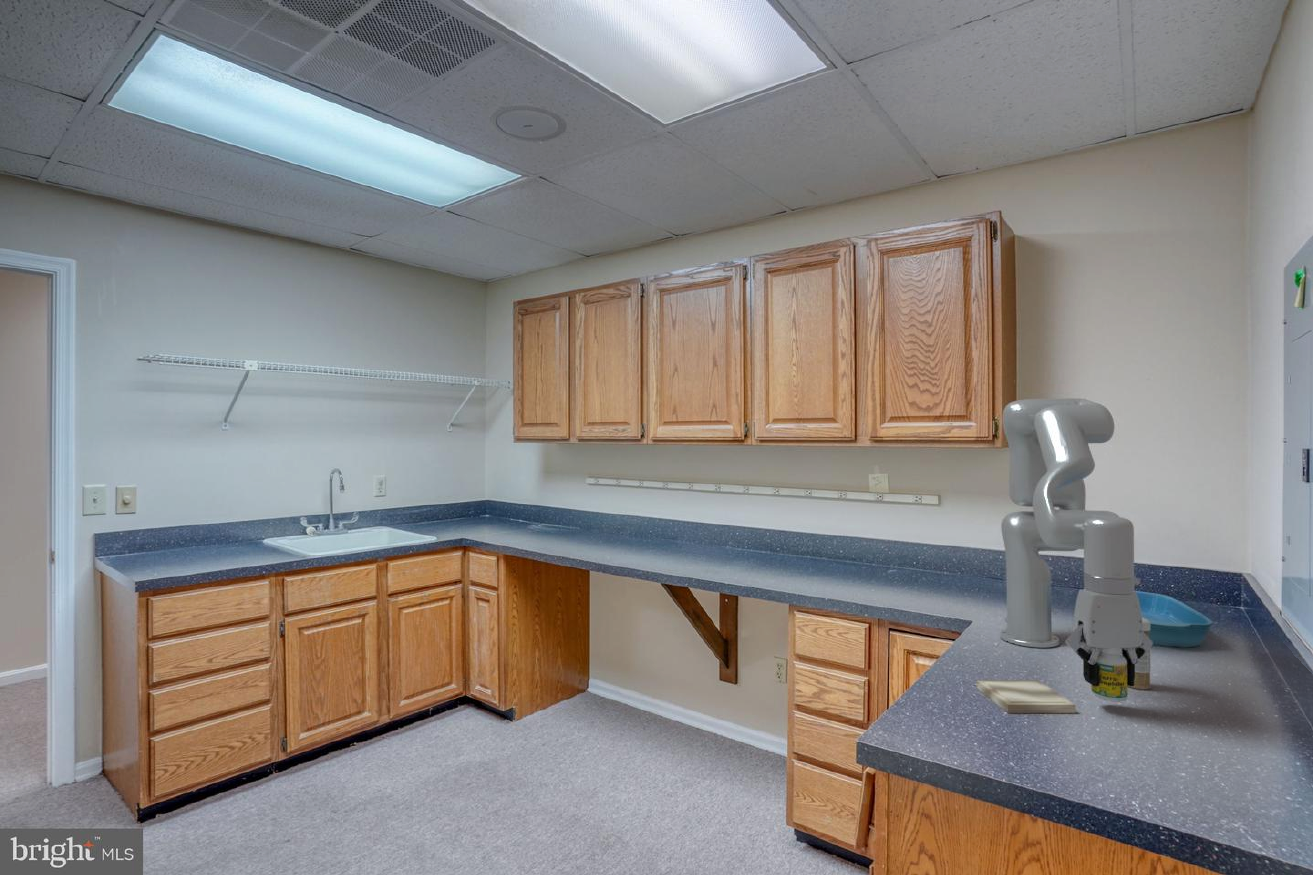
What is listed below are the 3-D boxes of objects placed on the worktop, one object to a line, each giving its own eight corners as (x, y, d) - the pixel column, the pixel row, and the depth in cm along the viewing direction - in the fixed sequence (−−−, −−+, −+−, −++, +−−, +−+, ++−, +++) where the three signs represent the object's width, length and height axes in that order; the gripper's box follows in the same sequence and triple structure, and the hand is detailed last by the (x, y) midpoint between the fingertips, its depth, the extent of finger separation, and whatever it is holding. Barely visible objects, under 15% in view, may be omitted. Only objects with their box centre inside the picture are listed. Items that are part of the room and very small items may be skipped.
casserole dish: (1229, 657, 147) (1229, 626, 147) (1113, 648, 154) (1112, 617, 154) (1164, 616, 181) (1163, 590, 181) (1071, 610, 189) (1071, 585, 189)
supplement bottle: (1122, 692, 120) (1122, 640, 120) (1131, 704, 115) (1131, 649, 115) (1087, 688, 122) (1087, 637, 122) (1095, 700, 117) (1095, 646, 117)
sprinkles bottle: (1124, 680, 133) (1123, 614, 133) (1152, 685, 130) (1151, 618, 130) (1121, 686, 129) (1120, 618, 130) (1149, 692, 126) (1148, 623, 126)
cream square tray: (976, 687, 129) (976, 679, 129) (1038, 687, 129) (1037, 679, 129) (1007, 712, 117) (1007, 703, 117) (1075, 712, 117) (1075, 703, 117)
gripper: (1141, 579, 122) (1142, 675, 122) (1048, 580, 122) (1049, 675, 123) (1172, 589, 114) (1172, 691, 115) (1073, 590, 115) (1073, 692, 115)
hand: (1108, 682), depth 119 cm, fingers closed on supplement bottle, 5 cm apart
